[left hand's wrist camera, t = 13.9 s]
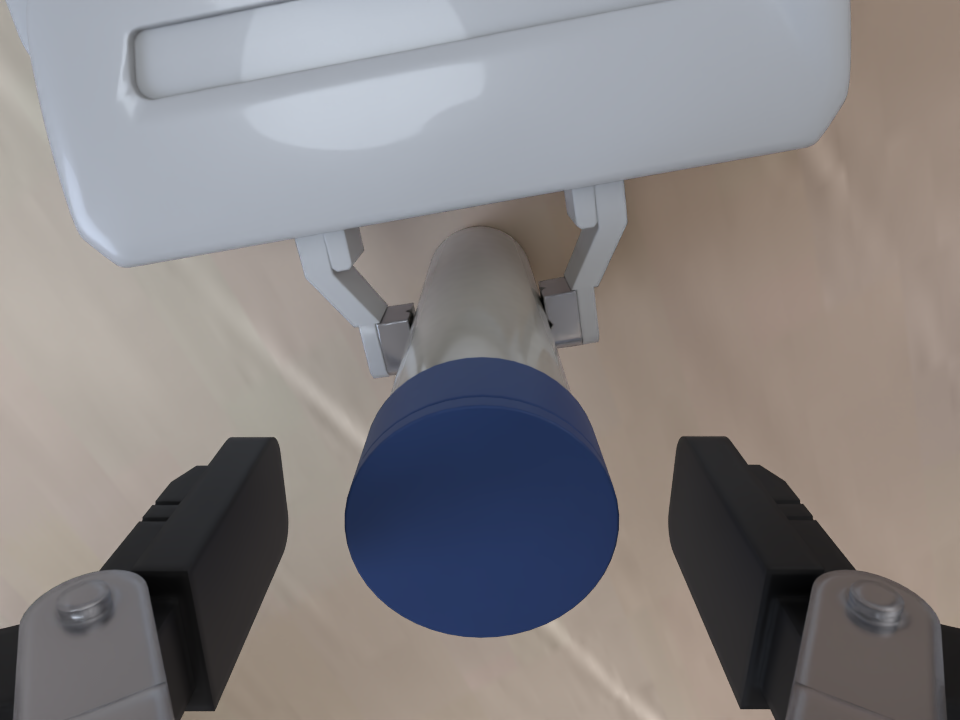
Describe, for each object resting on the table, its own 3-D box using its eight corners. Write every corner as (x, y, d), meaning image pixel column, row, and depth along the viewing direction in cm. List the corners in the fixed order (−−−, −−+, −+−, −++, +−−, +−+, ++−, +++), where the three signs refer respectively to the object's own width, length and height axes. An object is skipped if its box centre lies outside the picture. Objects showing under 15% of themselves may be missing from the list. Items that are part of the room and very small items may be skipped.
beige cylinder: (418, 311, 27) (338, 584, 11) (442, 213, 25) (390, 375, 10) (514, 337, 27) (560, 632, 12) (544, 241, 26) (638, 438, 10)
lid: (344, 533, 13) (320, 608, 11) (393, 328, 12) (376, 373, 10) (556, 580, 13) (570, 661, 12) (631, 390, 12) (660, 445, 10)
